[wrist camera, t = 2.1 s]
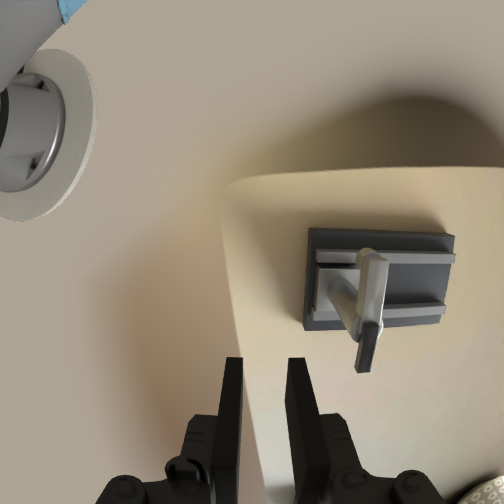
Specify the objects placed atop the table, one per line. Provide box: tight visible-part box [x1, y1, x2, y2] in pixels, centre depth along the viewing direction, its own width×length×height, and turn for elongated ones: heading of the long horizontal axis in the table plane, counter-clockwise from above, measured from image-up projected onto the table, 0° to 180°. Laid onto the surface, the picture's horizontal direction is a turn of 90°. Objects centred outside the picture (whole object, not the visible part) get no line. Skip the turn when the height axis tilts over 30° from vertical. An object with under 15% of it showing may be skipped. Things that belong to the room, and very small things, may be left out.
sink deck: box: [303, 228, 456, 331], centre depth 29 cm, size 10×16×3 cm, turn 89°
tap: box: [313, 248, 389, 373], centre depth 23 cm, size 8×4×10 cm, turn 179°
